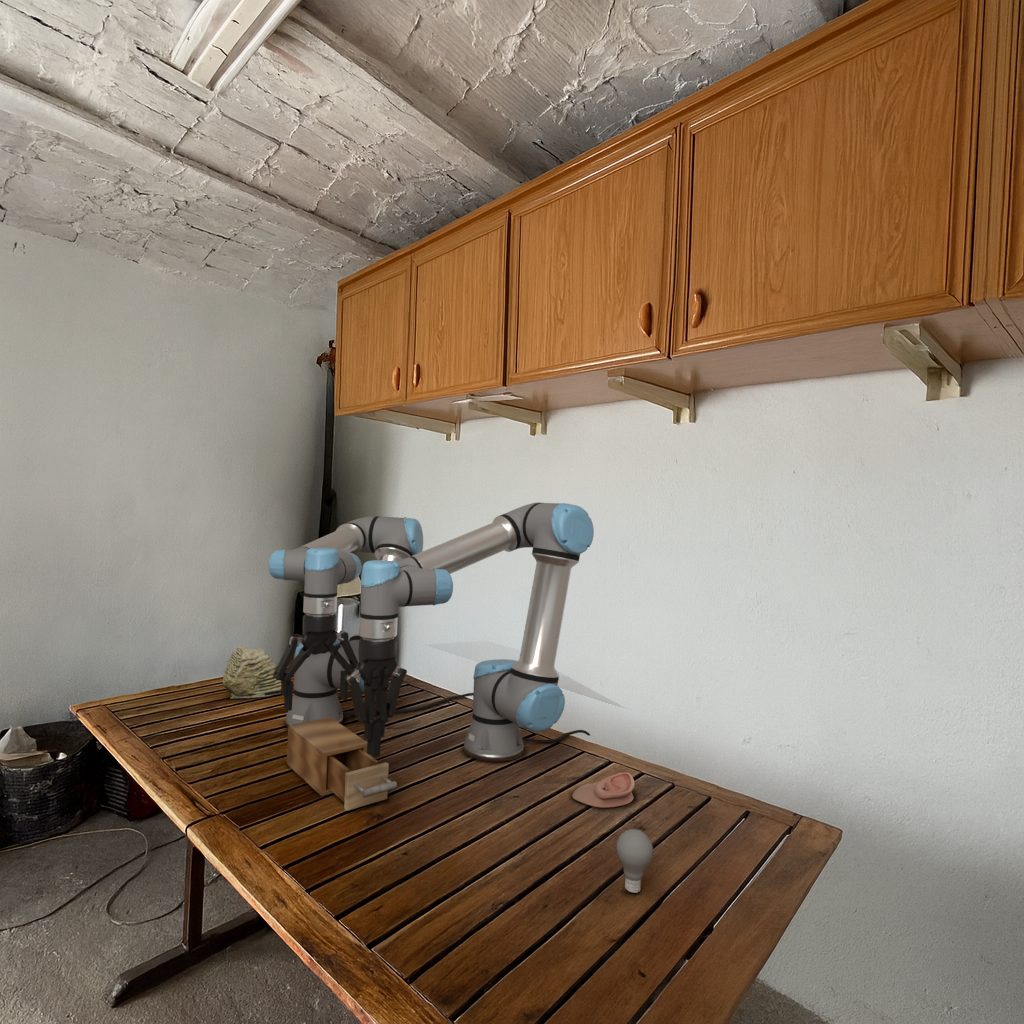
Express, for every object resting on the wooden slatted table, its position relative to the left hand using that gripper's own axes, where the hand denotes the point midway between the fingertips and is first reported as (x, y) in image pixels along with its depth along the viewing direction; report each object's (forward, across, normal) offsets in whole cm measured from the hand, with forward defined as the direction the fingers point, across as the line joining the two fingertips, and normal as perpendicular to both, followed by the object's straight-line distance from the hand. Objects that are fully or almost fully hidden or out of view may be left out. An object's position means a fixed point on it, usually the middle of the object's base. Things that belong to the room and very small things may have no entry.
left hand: (316, 703), depth 149 cm
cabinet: (+14, 0, -6) cm, 16 cm away
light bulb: (+14, +23, -77) cm, 81 cm away
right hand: (+2, 0, -28) cm, 28 cm away
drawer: (+14, 0, -20) cm, 24 cm away
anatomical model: (+14, +44, -51) cm, 69 cm away
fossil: (+14, +6, +59) cm, 61 cm away
